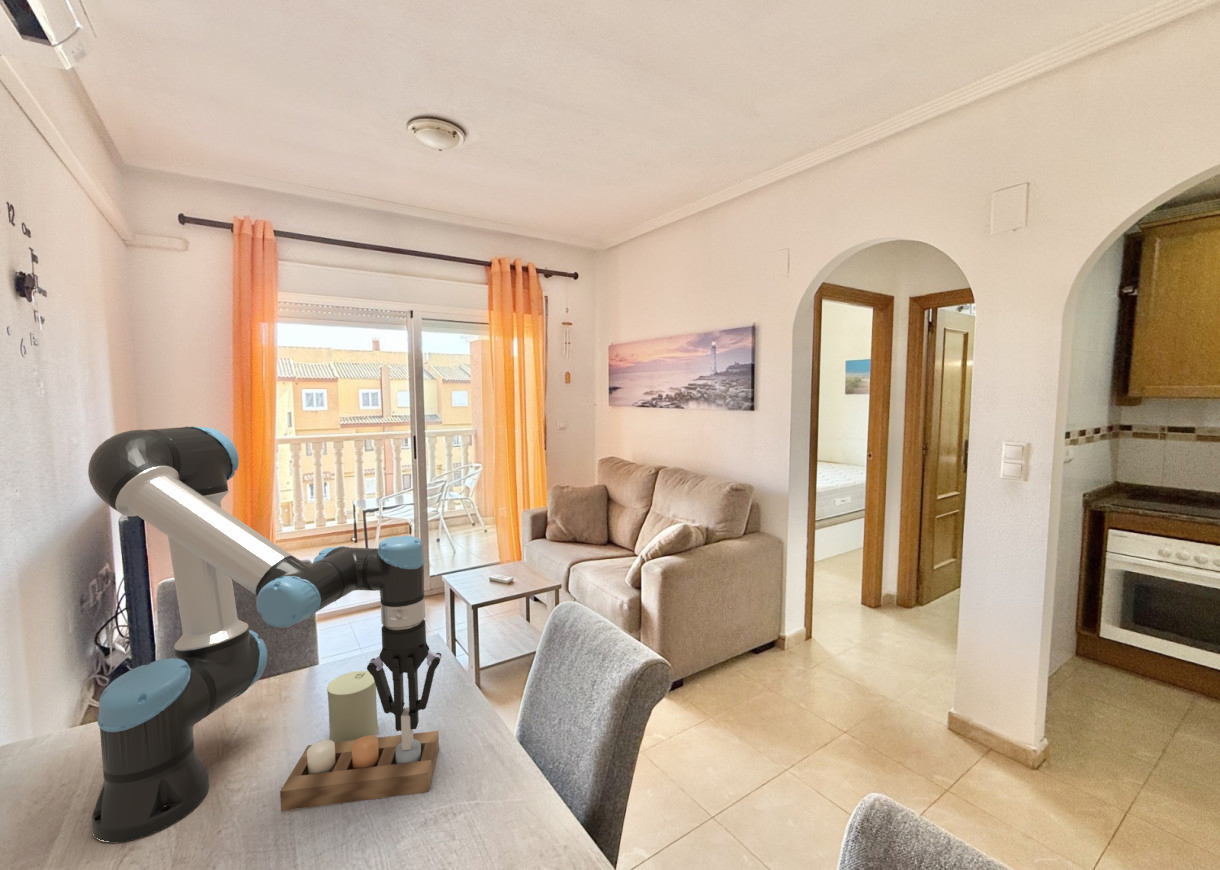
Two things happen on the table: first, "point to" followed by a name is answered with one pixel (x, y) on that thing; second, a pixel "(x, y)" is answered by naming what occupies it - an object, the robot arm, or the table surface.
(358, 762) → the orange egg
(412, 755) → the blue-grey egg
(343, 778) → the wooden egg holder
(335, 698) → the can
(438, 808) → the table surface
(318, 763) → the white egg
